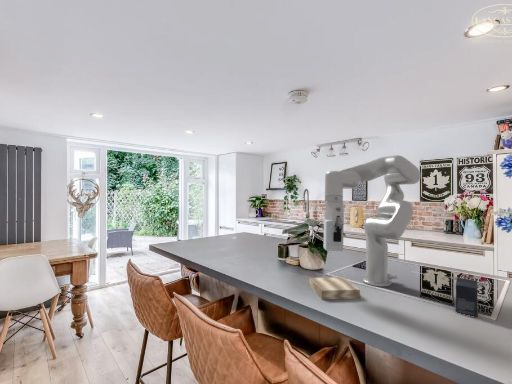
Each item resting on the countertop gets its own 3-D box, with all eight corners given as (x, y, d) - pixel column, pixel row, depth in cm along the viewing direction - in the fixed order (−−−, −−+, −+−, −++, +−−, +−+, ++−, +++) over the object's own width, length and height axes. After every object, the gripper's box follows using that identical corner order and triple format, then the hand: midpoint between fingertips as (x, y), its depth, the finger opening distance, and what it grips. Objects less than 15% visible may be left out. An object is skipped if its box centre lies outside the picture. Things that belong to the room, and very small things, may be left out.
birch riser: (342, 284, 123) (342, 277, 123) (359, 298, 108) (359, 289, 108) (309, 285, 122) (309, 277, 122) (321, 299, 106) (321, 290, 106)
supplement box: (343, 251, 110) (344, 221, 111) (325, 250, 111) (325, 220, 112) (340, 248, 118) (340, 219, 118) (323, 247, 119) (323, 219, 119)
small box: (456, 303, 104) (456, 276, 104) (477, 308, 99) (477, 280, 99) (454, 312, 95) (454, 283, 95) (478, 318, 91) (478, 287, 91)
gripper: (351, 200, 107) (350, 243, 106) (334, 199, 124) (333, 236, 124) (333, 199, 106) (332, 243, 106) (318, 199, 123) (317, 236, 123)
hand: (333, 239), depth 115 cm, fingers closed on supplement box, 8 cm apart
